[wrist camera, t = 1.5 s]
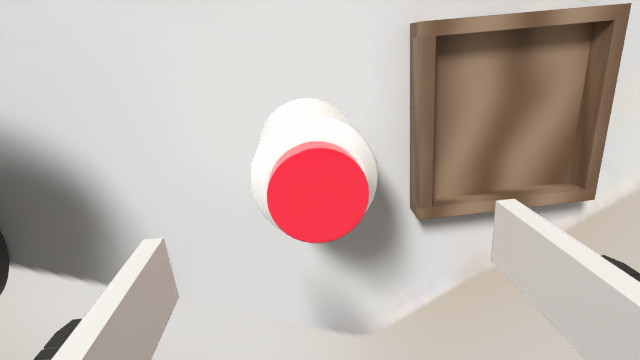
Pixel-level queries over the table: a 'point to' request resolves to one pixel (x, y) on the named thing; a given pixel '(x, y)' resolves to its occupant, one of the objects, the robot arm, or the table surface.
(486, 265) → the table surface
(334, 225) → the pill bottle
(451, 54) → the tray
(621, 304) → the robot arm
